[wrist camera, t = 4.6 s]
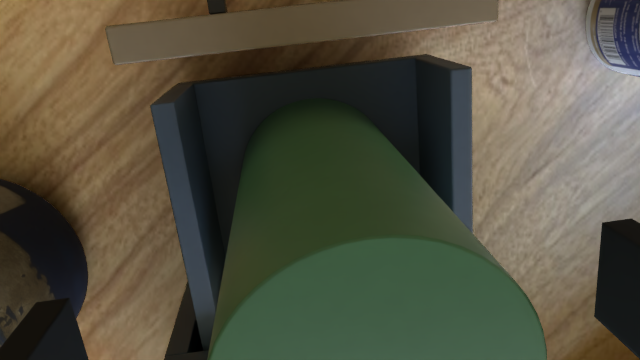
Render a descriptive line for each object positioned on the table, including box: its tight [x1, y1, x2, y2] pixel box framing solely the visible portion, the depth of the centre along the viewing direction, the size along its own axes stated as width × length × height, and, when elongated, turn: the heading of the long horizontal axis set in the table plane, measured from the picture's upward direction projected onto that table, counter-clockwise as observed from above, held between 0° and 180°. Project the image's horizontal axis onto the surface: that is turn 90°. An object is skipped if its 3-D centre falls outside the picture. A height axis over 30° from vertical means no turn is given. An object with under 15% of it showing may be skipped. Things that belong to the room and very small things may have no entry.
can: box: [207, 98, 547, 360], centre depth 16 cm, size 7×7×14 cm
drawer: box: [105, 0, 498, 351], centre depth 20 cm, size 19×13×6 cm, turn 6°
